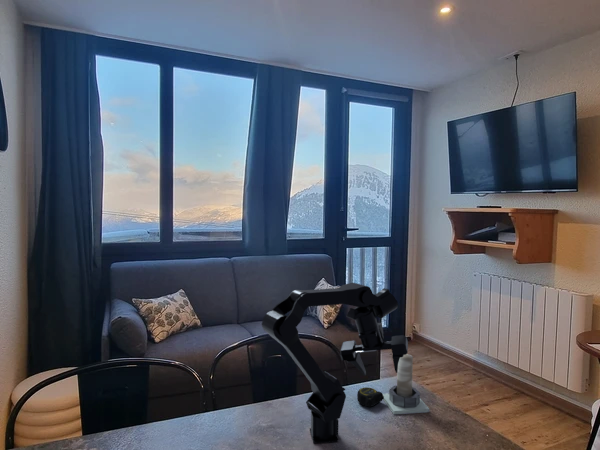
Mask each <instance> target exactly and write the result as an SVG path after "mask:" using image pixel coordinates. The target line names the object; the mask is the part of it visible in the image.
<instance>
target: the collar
mask: <svg viewBox="0 0 600 450" xmlns="http://www.w3.org/2000/svg"><path fill="white" fill-rule="evenodd" d="M388 393H389V400H390V401H391V402H392V404H394V405H396V406H399V407H402V408H415V407H417V406H418V405H419V404H420V399H421V392H419V390H418V389H417V388H416V387H413V386H412V396H407V397H404V396H401V395H397V385H393V386H392V387H390V388H389V392H388Z"/></svg>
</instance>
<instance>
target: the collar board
mask: <svg viewBox="0 0 600 450" xmlns="http://www.w3.org/2000/svg"><path fill="white" fill-rule="evenodd" d="M382 394H383V396H384V399H383V400H382V401H384V403H385V404H386V405H387V407H388V409H389V410H390V411H391V413H392V414H393V415H405V414H419V413H421V414H422V413H430V408H429V407H428V405H427V404H426V403H425V402H424V401H423V400H422V399H421V398H420V404H419V405H418V406H417V407H415V408H402V407H399V406H396V405H394V404H392V402H391V401H390V400H389V392H387V393H382Z"/></svg>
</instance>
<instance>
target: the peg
mask: <svg viewBox="0 0 600 450" xmlns="http://www.w3.org/2000/svg"><path fill="white" fill-rule="evenodd" d="M413 358H414V357H413V355H411V354H408V353H407V354H406V355H404V356H403V357H400V359H399V362H398V371H397V373H396V386H397V395H401V396H404V397H407V396H412V387H413V365H414V364H413V363H414V359H413Z"/></svg>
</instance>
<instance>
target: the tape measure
mask: <svg viewBox="0 0 600 450" xmlns="http://www.w3.org/2000/svg"><path fill="white" fill-rule="evenodd" d="M383 394H384V393H382V392H380V391H377V390H376V389H375V388H372V387H362V388H360V389H358V390H357V394H356V398H357V402H358V404H360V405H363V406H365V407H368V408H371V407H373V406H374V405H375V406H376V404H378V403H381V402H382V401H384V400H383V399H384V396H383Z"/></svg>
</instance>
